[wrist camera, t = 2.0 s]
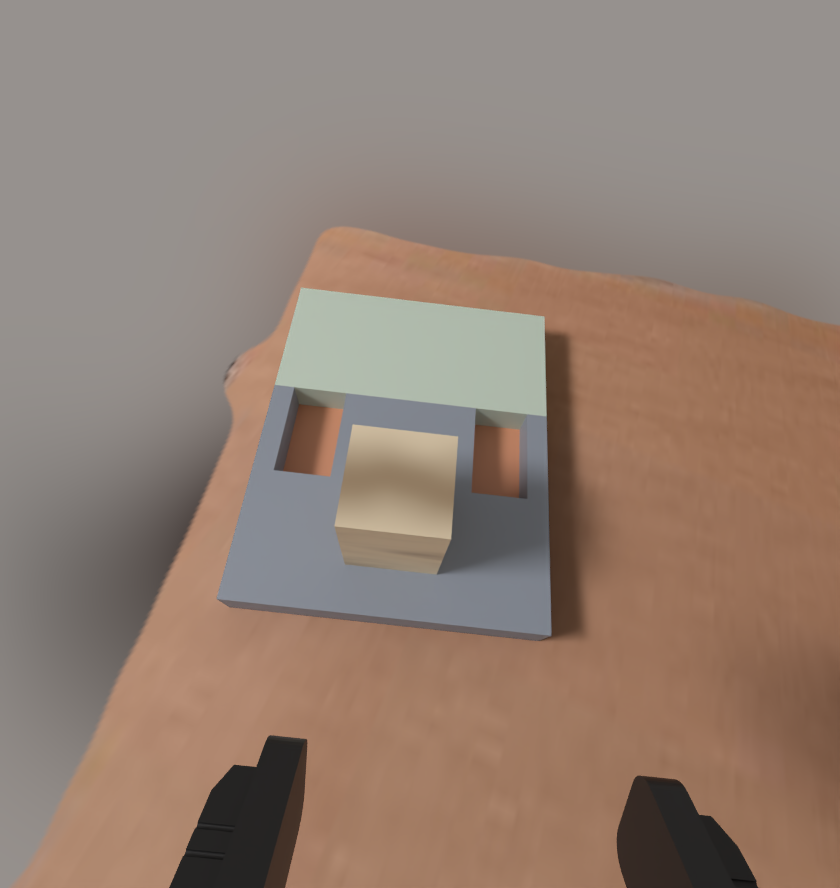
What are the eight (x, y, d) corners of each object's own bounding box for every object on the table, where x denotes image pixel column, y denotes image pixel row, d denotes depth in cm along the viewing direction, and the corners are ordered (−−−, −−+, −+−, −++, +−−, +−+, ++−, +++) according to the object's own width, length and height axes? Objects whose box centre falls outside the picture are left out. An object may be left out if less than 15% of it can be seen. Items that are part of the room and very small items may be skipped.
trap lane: (305, 311, 46) (301, 287, 43) (535, 338, 46) (544, 316, 44) (229, 607, 34) (216, 598, 32) (538, 640, 34) (551, 635, 32)
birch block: (358, 479, 36) (352, 424, 29) (443, 489, 36) (458, 436, 29) (344, 564, 33) (334, 526, 26) (436, 574, 33) (451, 539, 26)
